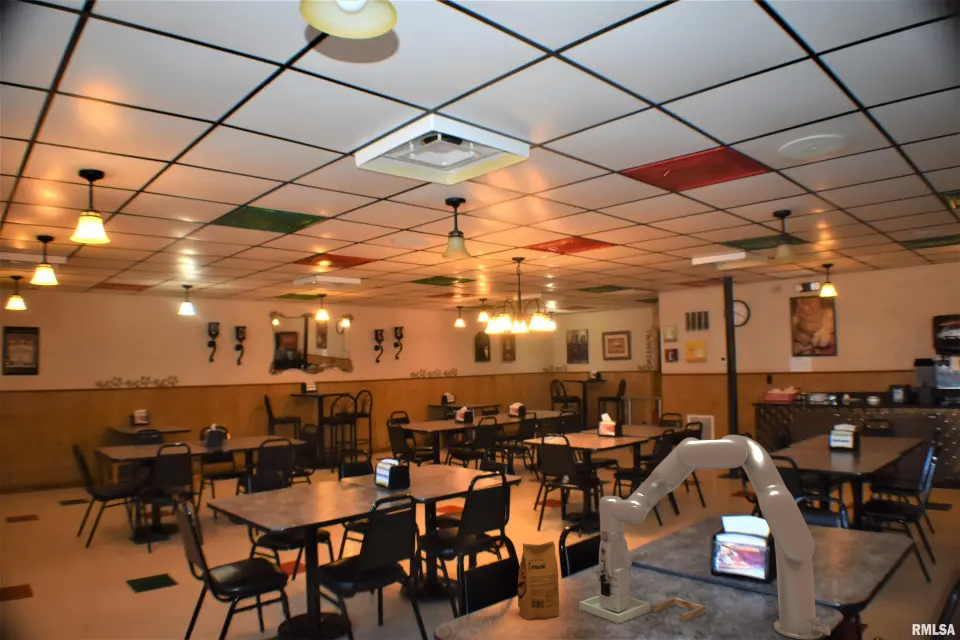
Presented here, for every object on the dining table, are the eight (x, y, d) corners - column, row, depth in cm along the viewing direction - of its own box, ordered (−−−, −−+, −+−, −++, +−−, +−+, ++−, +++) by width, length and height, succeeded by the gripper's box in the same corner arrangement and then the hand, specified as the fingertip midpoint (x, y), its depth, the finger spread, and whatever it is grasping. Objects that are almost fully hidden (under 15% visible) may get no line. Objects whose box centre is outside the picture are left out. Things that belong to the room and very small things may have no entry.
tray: (650, 611, 201) (650, 603, 201) (618, 624, 191) (618, 615, 191) (611, 598, 213) (611, 591, 213) (579, 610, 203) (579, 601, 204)
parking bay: (705, 613, 199) (705, 606, 199) (684, 622, 192) (683, 615, 192) (674, 603, 208) (673, 596, 208) (652, 611, 201) (652, 605, 201)
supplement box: (610, 600, 208) (609, 560, 208) (630, 606, 203) (630, 565, 204) (598, 606, 202) (598, 565, 203) (619, 612, 197) (618, 570, 198)
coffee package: (515, 610, 204) (514, 539, 206) (552, 606, 207) (550, 537, 209) (523, 621, 195) (521, 547, 197) (562, 618, 197) (560, 545, 199)
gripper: (603, 543, 196) (605, 601, 194) (639, 533, 207) (641, 589, 205) (585, 538, 202) (587, 595, 200) (620, 529, 212) (623, 583, 211)
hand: (614, 592), depth 203 cm, fingers open, 8 cm apart
